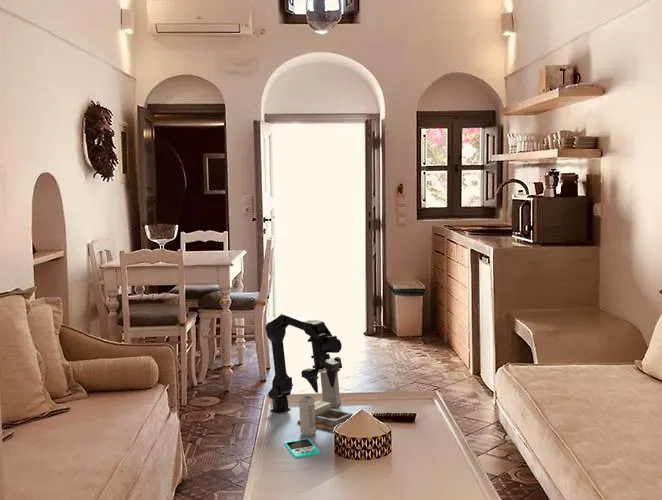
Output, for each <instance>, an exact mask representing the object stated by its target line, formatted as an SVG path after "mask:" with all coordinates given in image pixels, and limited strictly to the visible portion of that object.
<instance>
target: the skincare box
mask: <svg viewBox="0 0 662 500" xmlns="http://www.w3.org/2000/svg"><path fill="white" fill-rule="evenodd" d="M324 369H325V368H324ZM319 373H320V384H321V396H322V401H324V402H328V403H331V408H338V406H339V404H340V403H341V396H340V385H339V372H338V373H337V374H336V378H335V383H334V387H331V385H330V382H329V379H328V375H327V372H326V370H325V371H322V372H319Z"/></svg>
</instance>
